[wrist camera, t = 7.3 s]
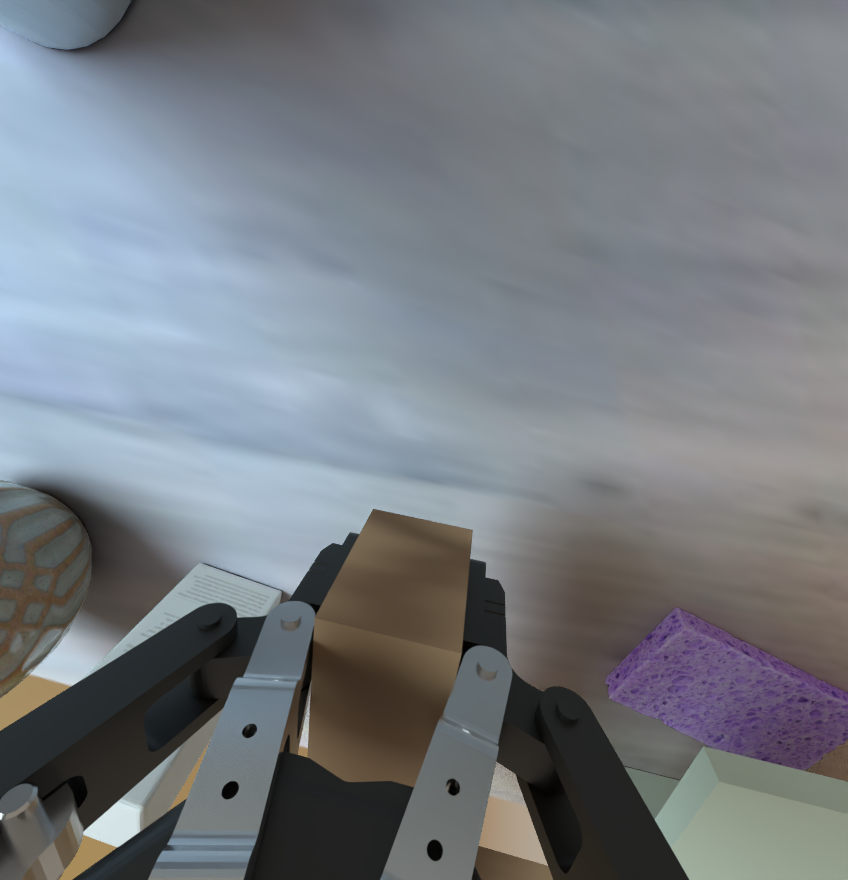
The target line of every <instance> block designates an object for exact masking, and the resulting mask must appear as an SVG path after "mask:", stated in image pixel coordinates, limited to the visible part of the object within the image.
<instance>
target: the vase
mask: <svg viewBox="0 0 848 880" xmlns="http://www.w3.org/2000/svg"><path fill="white" fill-rule="evenodd" d="M91 574H92V547H91V541H90V538H89V535H88V533H87V531H86V529H85V527H84V525H83V524H82V522H81V521H80V519H79V518H78V517H77V516H76V515H75V514H74V513H73V511H71V510H70V509H69V508H68V507H67V506H66V505H65V504H63V503H62V502H61V501H59V500H58V499H56V498H54V497H53V496H51V495H49V494H46V493H44V492H41V491H38V490H35V489H31V488H28V487H24V486H21V485H18V484H15V483H11V482H7V481H3V480H0V698H2V697H3V696H4V695H5V694H7V693H8V692H9V691H10V690H12V689H13V688H14V687H15V686H16V685H17V684H19V683H20V682H21V681H23V679H25V678H26V677H27V676H28V675H29V674H30V673H31V672H32V671H33V670H34V669H35V668H37V667H38V666H39V665H40V664H41V663H42V662H43V661H44V660H45V659H46V658H47V657H48V656H49V655H50V653H51V652H52V651H53V650H54V649H55V648H56V647H57V646H58V644H59V643H60V642H61V640H62V639H63V638H64V636H65V635H66V634H67V632H68V631H69V629H70V628H71V626H72V624H73V623H74V621H75V619H76V618H77V616H78V614H79V613H80V611H81V609H82V606H83V604H84V602H85V599H86V596H87V594H88V591H89V587H90V583H91Z"/></svg>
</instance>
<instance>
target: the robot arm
mask: <svg viewBox="0 0 848 880" xmlns="http://www.w3.org/2000/svg"><path fill="white" fill-rule="evenodd" d="M131 1H132V0H0V26H2V27H4V28H6V29H8V30H10V31H12V32H14V33H16V34H18V35H20V36H22V37H23V38H26V39H28V40H30V41H33V42H35V43H37V44H40V45H42V46H45V47H49V48H57V49H64V50H69V49H75V48H80V47H86V46H88V45H90V44H92V43H94V42H96V41H97V40H99V39H101V38H103V37H105V36H106V35H107V34H108V33H109V32H110V31H111V30H112V28H113V27H114V26H115V25H116V24H117V23H118V22H119V21H120V20H121V18H122V17H123V15H124V13H125V11H126V9H127V8H128V6H129V4H130V2H131ZM359 535H360V534H356V533H351V532H350V533H349V535H348V536H347V538H346V540H345V541H344V543H343V545H339V544H334V543H332V544H331V545H329V546H328V547H326V548H325V549H323V550H322V551H321V552H320V554H319V555H318V557H317V558H316V560H315V562H314V563H313V564H312V566H311V567H310V569H309V571H308V572H307V574H306V575H305V577H304V578H303V580H302V581H301V583H300V584H299V586H298V587H297V589H296V591H295V592H294V594H293V595H292V597H291V598H290V600H289V601H288V602H284V603H282V604H279V605H277V606H276V607H274V608H273V609H272V610H271V611H270V612H269V614H268V615H265V616H259V617H237V613H236V610H235V609H234V608H233V607H232V606H230V605H228V604H225V603H210V604H206V605H203V606H200V607H198V608H197V609H195V610H193V611H192V612H190V613H188V614H187V615H185V616H184V617H182V618H180V619H179V620H177V621H176V622H174V623H172V624H171V625H169V626H167V627H166V628H164V629H163V630H161V631H159V632H158V633H156V634H155V635H153V636H151V637H150V638H148V639H147V640H145V641H143V642H142V643H140V644H139V645H137V646H135V647H134V648H132V649H131V650H129V651H127V652H126V653H124V654H123V655H121V656H119V657H118V658H116V659H115V660H113V661H111V662H110V663H108V664H107V665H105V666H103V667H102V668H100V669H99V670H97V671H95V672H94V673H92V674H91V675H89V676H87V677H86V678H84V679H83V680H81V681H79V682H78V683H76V684H75V685H73V686H71V687H70V688H68V689H67V690H65V691H63V692H62V693H60V694H59V695H57V696H56V697H54V698H52V699H51V700H49V701H47V702H46V703H44V704H43V705H41V706H39V707H38V708H36V709H35V710H33V711H31V712H30V713H28V714H27V715H25V716H23V717H22V718H20V719H19V720H17V721H15V722H14V723H12V724H11V725H9V726H7V727H6V728H4V729H3V730H1V731H0V880H59V879H60V877H61V876H62V874H63V872H64V870H65V869H66V868H67V867H68V865H69V864H70V862H71V861H72V860H73V858H74V857H75V855H76V853H77V851H78V849H79V847H80V844H81V841H82V837H83V832H84V831H85V830H86V829H87V828H88V827H89V826H91V825H92V824H93V823H94V822H95V821H96V820H97V819H98V818H100V817H101V816H102V815H103V814H104V813H105V812H106V811H108V810H109V809H110V808H111V807H112V806H113V805H114V804H115V803H117V802H118V801H119V800H120V799H121V798H122V797H123V796H124V795H126V794H127V793H128V792H129V791H130V790H131V789H132V788H134V787H135V786H136V785H137V784H138V783H139V782H140V781H141V780H143V779H144V778H145V777H146V776H147V775H148V774H149V773H151V772H152V771H153V770H154V769H155V768H156V767H157V766H158V765H160V764H161V763H162V762H163V761H164V760H165V759H166V758H167V757H169V756H170V755H171V754H172V753H173V752H174V751H175V750H177V749H178V748H179V747H180V746H181V745H182V744H183V743H184V742H186V741H187V740H188V739H189V738H190V737H191V736H192V735H194V734H195V733H196V732H197V731H198V730H199V729H200V728H201V727H203V726H204V725H205V724H206V723H207V722H208V721H209V720H210V719H212V718H213V717H214V716H215V715H216V714H217V713H218V712H220V711H221V710H222V709H223V711H222V713H221V716H220V718H219V721H218V723H217V726H216V728H215V730H214V733H213V735H212V738H211V740H210V743H209V745H208V748H207V750H206V753H205V755H204V758H203V761H202V763H201V765H200V768H199V770H198V773H197V775H196V777H195V780H194V783H193V785H192V787H191V790H190V792H189V795H188V797H187V799H186V800H184V801H183V802H181V803H180V804H178V805H177V806H175V807H174V808H173V809H171V810H170V811H168V812H167V813H166V814H164V815H163V816H161V817H160V818H159V819H157V820H156V821H154V822H153V823H151V824H150V825H149V826H147V827H146V828H144V829H143V830H142V831H140V832H139V833H137V834H136V835H135V836H133V837H132V838H130V839H129V840H128V841H126V842H125V843H123V844H122V845H121V846H119V847H118V848H116V849H115V850H113V851H112V852H111V853H109V854H108V855H107V856H105V857H104V858H102V859H101V860H99V861H98V862H97V863H95V864H94V865H92V866H91V867H90V868H88V869H87V870H85V871H84V872H83V873H81V874H80V875H78V876H77V877H76V878H74V879H73V880H481V878H480V875H479V873H478V871H477V869H476V866H475V860H476V855H477V851H478V845H479V841H480V836H481V832H482V827H483V822H484V817H485V812H486V807H487V803H488V798H489V793H490V789H491V784H492V779H493V774H494V769H495V765H496V761H497V762H498V763H500V764H501V765H503V766H504V767H506V768H507V769H509V770H510V771H512V772H513V773H515V774H516V776H517V780H518V783H519V786H520V789H521V791H522V794H523V797H524V800H525V803H526V805H527V808H528V811H529V813H530V816H531V819H532V822H533V825H534V828H535V830H536V833H537V836H538V839H539V842H540V844H541V847H542V850H543V852H544V856H545V858H546V861H547V864H548V867H549V869H550V872H551V875H552V878H553V880H689V878H688V876H687V875H686V873H685V871H684V869H683V868H682V866H681V864H680V863H679V861H678V859H677V857H676V856H675V854H674V852H673V850H672V849H671V847H670V845H669V844H668V842H667V840H666V838H665V837H664V835H663V833H662V831H661V830H660V828H659V826H658V825H657V823H656V821H655V819H654V818H653V816H652V814H651V812H650V811H649V809H648V807H647V806H646V804H645V802H644V800H643V799H642V797H641V795H640V793H639V792H638V790H637V788H636V786H635V785H634V783H633V781H632V780H631V778H630V776H629V774H628V773H627V771H626V769H625V767H624V766H623V764H622V762H621V761H620V759H619V757H618V755H617V754H616V752H615V750H614V748H613V747H612V745H611V743H610V742H609V740H608V738H607V736H606V735H605V733H604V731H603V729H602V728H601V726H600V724H599V723H598V721H597V719H596V717H595V716H594V714H593V712H592V710H591V709H590V707H589V706H588V704H587V703H586V702H585V701H584V700H583V699H582V698H581V697H580V696H579V695H577V694H576V693H575V692H573V691H571V690H569V689H567V688H563V687H550V688H548V689H546V690H545V691H544V692H542V691H540V690H538V689H536V688H535V687H533V686H531V685H529V684H528V683H526V682H524V681H523V680H522V679H521V678H520V677H519V676H518V675H517V674H516V673H515V672H514V671H513V669H512V668H511V665H510V663H509V661H508V659H507V646H506V617H505V592H504V590H503V588H502V586H501V584H500V583H499V581H498V580H494V579H490V578H485V575H486V562H482V561H478V560H473V559H470V565H469V576H468V587H467V599H466V610H465V621H464V633H463V644H462V654H461V658H460V662H459V667H458V671H457V675H456V679H455V682H454V685H453V688H452V691H451V693H450V696H449V699H448V702H447V704H446V707H445V710H444V713H443V715H442V717H440V719H439V721H438V724H437V726H436V729H435V732H434V734H433V737H432V740H431V743H430V745H429V748H428V751H427V754H426V756H425V759H424V762H423V764H422V767H421V770H420V773H419V775H418V778H417V781H416V784H415V786H414V787H411V786H407V785H404V784H400V783H397V782H393V781H371V782H346V781H344V780H342V779H340V778H339V777H337V776H336V775H334V774H333V773H331V772H330V771H328V770H327V769H325V768H324V767H322V766H321V765H319V764H318V763H316V762H315V761H313V760H312V759H310V758H307V757H303V756H300V755H297V754H298V748H299V743H300V739H301V734H302V729H303V725H304V720H305V715H306V710H307V706H308V701H309V696H310V692H311V679H312V659H313V639H314V619H315V616H316V614H317V612H318V611H319V609H320V607H321V605H322V603H323V601H324V599H325V598H326V596H327V594H328V592H329V590H330V588H331V586H332V585H333V583H334V581H335V579H336V577H337V575H338V573H339V572H340V570H341V568H342V566H343V564H344V562H345V560H346V559H347V557H348V555H349V553H350V551H351V549H352V548H353V546H354V544H355V542H356V540H357V538H358V536H359Z"/></svg>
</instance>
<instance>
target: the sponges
mask: <svg viewBox="0 0 848 880" xmlns="http://www.w3.org/2000/svg"><path fill="white" fill-rule="evenodd" d="M606 685H609V687H608V693H609V699H610V700H613V701H615V702H617V703H621V704H623V705H625V706H626V707H630V708H632V709H633V710H635V711H637V712H639V713H641V714H644V715H647V716H649V717H651V718H654V719H656V718H660V719H661V720H662V721H663V722H664V724H666V725H667V726H670V727H672V728H674V729H675V730H677V731H679V732H680V733H682V734H684V735H688V736H691V737H693V738H694V739H695V740H697V741H700V742H703V743H704V744H706V745H708V746H709V747H712V748H713V749H717V750H721V751H725V752H729V753H733V754H737V755H741V756H745V757H749V758H753V759H757V760H762V761H766V762H770V763H774V764H778V765H782V766H786V767H790V768H794V769H798V770H802V771H805V770H807V769H808V768H810V767H811V766H812V765H814V764H815V763H816V762H817V761H820V760H821V759H822V758H823V755H824V754H826V753H828V752H830V750H835V749H836V747H837V746H838V745H842V744H844V743H845V742H846V740H847V739H848V693H847V692H845V691H843V690H841V689H839V688H837V687H833V686H831V685H830V684H828V683H827V682H825V681H822V680H818V679H817V678H815V677H814V676H813V675H811V674H808V673H806V672H804V671H802V670H800V669H798V668H796V667H793V666H792V665H790V664H789V663H786V662H784V661H782V660H780V659H778V658H776V657H774V656H772V655H770V654H768V653H766V652H764V651H762V650H760V649H758V648H756V647H754V646H752V645H750V644H748V643H747V642H745V641H741V640H739V639H737V638H735V637H733V636H732V635H731V634H729V633H727V632H725V631H723V630H722V629H720V628H718V627H716V626H714V625H711V624H709V623H708V622H706V621H704V620H702V619H700V618H698V617H696V616H694V615H692V614H690V613H688V612H686V611H683V610H682V609H680V608H678V607H676V608H674V610H673V611H672V612H671V613H670V614H669V615H668V616H667V617H666V618H664V620H663V621H662V622H661V623H660V624H659V625H657V626H656V627H655V629H654V630H653V631H652V632H651V633H650V634H648V636H647V637H645V639H644V640H643V641H642V642H640V644H639V645H638V646H636V648H635V649H634V650H633V651H632V652H630V653H629V654H628V656H627V657H626V658H625V659H624V660H623V661H622V662H621V663H620V664H619V665H618V666H617V667H616V668H614V670H613V672H612V673H610V674H609V675H608V676H607V677H606Z"/></svg>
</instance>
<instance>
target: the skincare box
mask: <svg viewBox="0 0 848 880" xmlns="http://www.w3.org/2000/svg"><path fill="white" fill-rule="evenodd" d="M281 596H282V592H281V591H280V590H277V589H274V588H271V587H268V586H265V585H262V584H259V583H256V582H254V581H251V580H248V579H245V578H242V577H239V576H236V575H233V574H230V573H227V572H225V571H222V570H219V569H216V568H213V567H210V566H208V565H205V564H202V563H199V564H198V565H197V566H195V567H194V568H193V569H192V570H191V571H190V572H189V573H188V574H187V575H186V576H185V577H184V578H183V579H182V580H181V581H180V582H179V583H178V584H177V585H176V586H175V587H174V588H173V589H172V590H171V591H170V592H169V593H168V594H167V595H166V596H165V597H164V598H163V599H162V600H161V601H160V602H159V603H158V604H157V605H156V606H155V608H154V609H153V610H152V611H150V612H149V613H148V614H147V615H146V616H145V617H144V618H143V619H142V620H141V621H140V622H139V623H138V624H137V625H136V626H135V627H134V628H133V629H132V630H131V631H130V632H129V633H128V634H127V635H126V636H125V637H124V638H123V639H122V640H121V641H120V642H119V643H118V644H117V645H116V646H115V647H114V648H113V649H112V650H111V651H110V652H109V653H108V654H107V655H106V656H105V657H104V659H103V660H102V661H101V662H100V663H98V664H97V665H96V666H95V667H94V668H93V669H92V670H91V671H90V672H89V673H88V674H87V675H86V676H85V677H84V678H86V677H87V676H89V675H91V674H92V673H94V672H95V671H97V670H99V669H100V668H102V667H103V666H105V665H107V664H108V663H110V662H111V661H113V660H115V659H116V658H118V657H119V656H121V655H123V654H124V653H126V652H127V651H129V650H131V649H132V648H134V647H135V646H137V645H139V644H140V643H142V642H143V641H145V640H147V639H148V638H150V637H151V636H153V635H155V634H156V633H158V632H159V631H161V630H163V629H164V628H166V627H167V626H169V625H171V624H172V623H174V622H176V621H177V620H179V619H180V618H182V617H184V616H185V615H187V614H188V613H190V612H192V611H193V610H195V609H197V608H198V607H200V606H203V605H206V604H210V603H225V604H228V605H230V606H232V607H233V608H234V609H235V610H236V613H237V617H259V616H265V615H268V614H269V612H270V611H271V610H272V609H273V608H274V607H276V606H277V605H279V604H280V601H281ZM84 678H83V679H84ZM83 679H82V680H83ZM222 711H223V709H222V710H221V711H220V712H218V713H217V714H216V715H215V716H214V717H213V718H212V719H210V720H209V721H208V722H207V723H206V724H205V725H204V726H203V727H201V728H200V729H199V730H198V731H197V732H196V733H195V734H194V735H192V736H191V737H190V738H189V739H188V740H187V741H186V742H184V743H183V744H182V745H181V746H180V747H179V748H178V749H177V750H175V751H174V752H173V753H172V754H171V755H170V756H169V757H167V758H166V759H165V760H164V761H163V762H162V763H161V764H160V765H158V766H157V767H156V768H155V769H154V770H153V771H152V772H151V773H149V774H148V775H147V776H146V777H145V778H144V779H143V780H141V781H140V782H139V783H138V784H137V785H136V786H135V787H134V788H132V789H131V790H130V791H129V792H128V793H127V794H126V795H124V796H123V797H122V798H121V799H120V800H119V801H118V802H117V803H115V804H114V805H113V806H112V807H111V808H110V809H109V810H108V811H106V812H105V813H104V814H103V815H102V816H101V817H100V818H98V819H97V820H96V821H95V822H94V823H93V824H92V825H91V826H89V827H88V828H87V829H86V830H85V831H84V832H83V835H86V836H88V837H91V838H94V839H96V840H99V841H102V842H105V843H108V844H110V845H113V846H116V847H119V846H121V845H122V844H123V843H125V842H126V841H128V840H129V839H130V838H132V837H133V836H135V835H136V834H137V833H139V832H140V831H142V830H143V829H144V828H146V827H147V826H149V825H150V824H151V823H153V822H154V821H156V820H157V819H159V818H160V817H161V816H163V815H164V814H166V813H167V812H168V810H169V809H170V807H171V805H172V803H173V801H174V800H175V798H176V797H177V795H178V793H179V791H180V790H181V788H182V787H183V785H184V783H185V781H186V780H187V778H188V776H189V775H190V773H191V771H192V770H193V768H194V766H195V765H196V763H197V761H198V759H199V758H200V756H201V754H202V753H203V751H204V749H205V748H206V746H207V744H208V743H209V741H210V739H211V737H212V735H213V733H214V730H215V728H216V726H217V723H218V721H219V718H220V716H221V713H222Z"/></svg>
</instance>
